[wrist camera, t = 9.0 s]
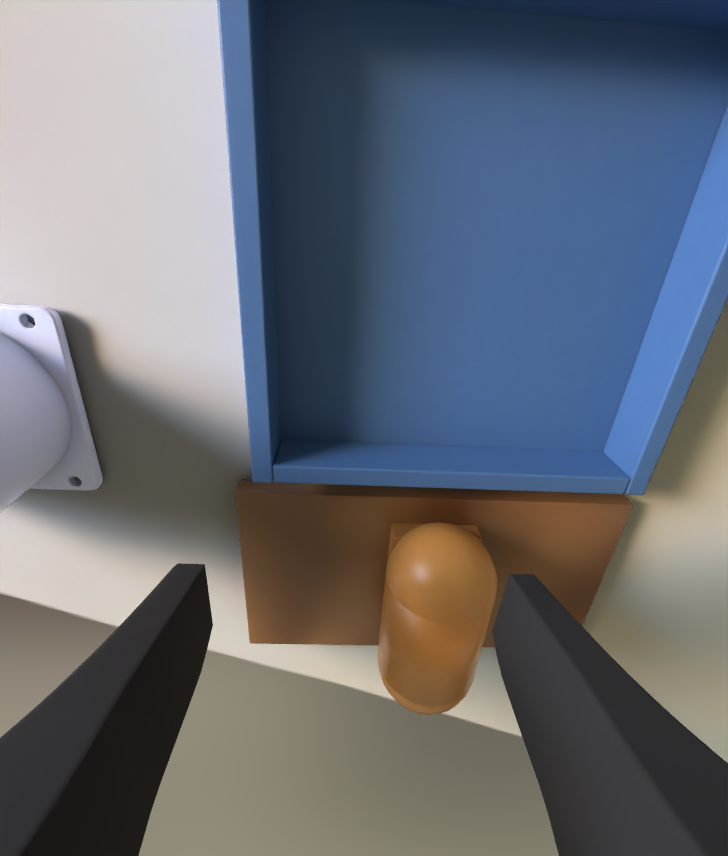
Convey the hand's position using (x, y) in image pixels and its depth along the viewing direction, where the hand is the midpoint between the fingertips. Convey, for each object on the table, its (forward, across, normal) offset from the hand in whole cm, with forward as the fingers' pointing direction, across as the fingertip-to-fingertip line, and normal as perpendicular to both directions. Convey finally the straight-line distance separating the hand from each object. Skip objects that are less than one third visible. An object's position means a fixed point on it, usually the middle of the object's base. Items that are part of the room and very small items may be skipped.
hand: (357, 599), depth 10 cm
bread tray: (+9, -4, -7) cm, 12 cm away
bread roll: (+8, -4, +8) cm, 12 cm away
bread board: (+9, -4, +8) cm, 13 cm away
